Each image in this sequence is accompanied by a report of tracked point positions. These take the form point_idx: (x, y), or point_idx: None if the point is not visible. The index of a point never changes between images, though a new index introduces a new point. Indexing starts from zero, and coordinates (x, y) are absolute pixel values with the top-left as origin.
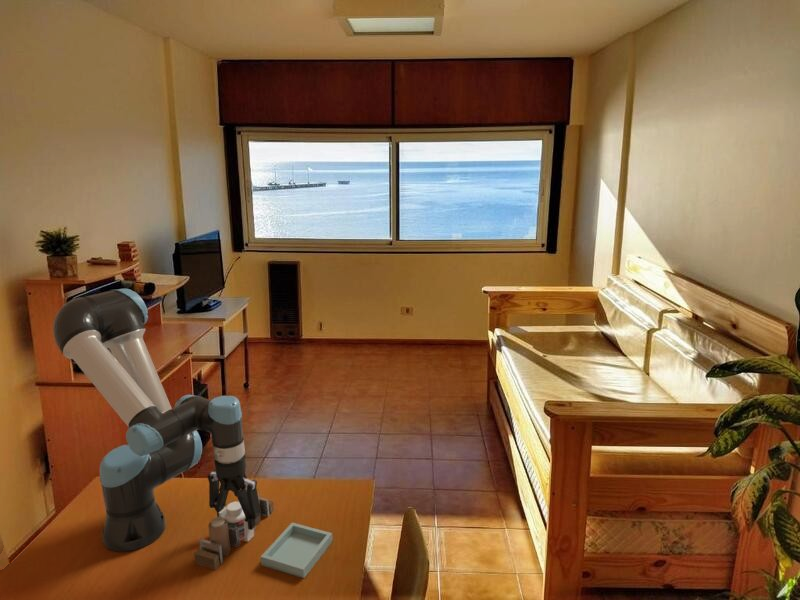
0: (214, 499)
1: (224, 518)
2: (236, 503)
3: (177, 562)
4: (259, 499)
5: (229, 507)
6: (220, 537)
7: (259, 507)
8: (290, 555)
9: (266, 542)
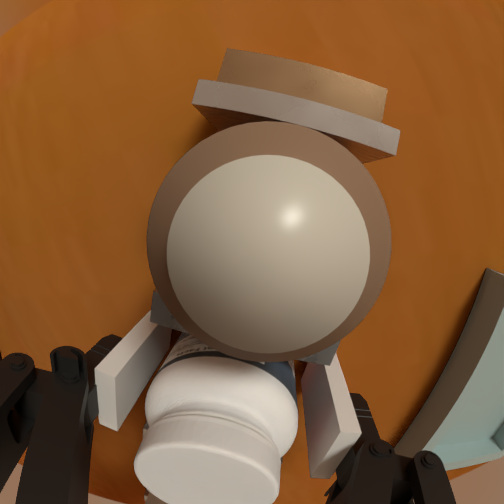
0: (18, 446)
1: (139, 376)
2: (201, 468)
3: (112, 450)
4: (318, 130)
5: (172, 495)
6: None
7: (448, 496)
8: (478, 404)
9: (396, 362)
